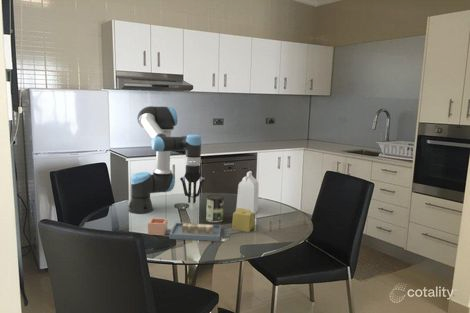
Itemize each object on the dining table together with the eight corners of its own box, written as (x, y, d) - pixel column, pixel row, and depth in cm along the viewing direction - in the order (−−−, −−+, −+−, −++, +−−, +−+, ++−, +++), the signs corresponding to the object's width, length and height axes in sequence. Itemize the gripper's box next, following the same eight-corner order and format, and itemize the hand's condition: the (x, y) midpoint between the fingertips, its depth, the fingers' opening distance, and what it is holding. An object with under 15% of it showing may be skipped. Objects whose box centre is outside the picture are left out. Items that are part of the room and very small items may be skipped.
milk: (253, 215, 240) (255, 174, 236) (235, 212, 244) (237, 172, 240) (258, 210, 251) (260, 171, 247) (241, 207, 255) (243, 169, 251)
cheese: (254, 227, 218) (255, 210, 217) (249, 233, 208) (250, 215, 207) (237, 224, 222) (238, 207, 220) (231, 230, 212) (231, 212, 210)
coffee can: (224, 217, 232) (225, 195, 230) (220, 223, 222) (221, 199, 220) (208, 216, 234) (209, 193, 232) (203, 221, 224) (204, 197, 222)
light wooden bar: (180, 226, 201) (210, 218, 200) (181, 224, 204) (210, 216, 203) (184, 241, 202) (214, 233, 201) (185, 238, 206) (214, 231, 205)
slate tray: (169, 238, 194) (169, 234, 194) (175, 226, 212) (175, 222, 212) (219, 241, 194) (219, 236, 194) (221, 229, 212) (221, 224, 212)
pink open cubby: (147, 234, 199) (148, 223, 198) (151, 228, 207) (151, 218, 207) (164, 235, 199) (164, 224, 198) (167, 229, 207) (167, 218, 207)
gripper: (179, 165, 194) (178, 210, 197) (204, 166, 193) (203, 211, 197) (181, 162, 201) (180, 206, 205) (206, 164, 201) (204, 207, 205)
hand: (191, 208), depth 201 cm, fingers closed
